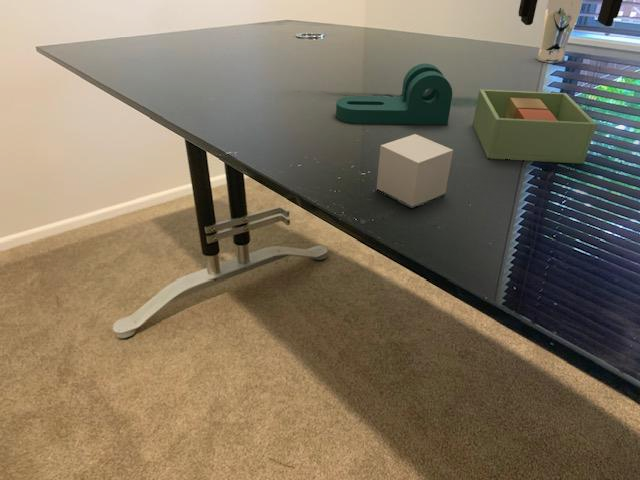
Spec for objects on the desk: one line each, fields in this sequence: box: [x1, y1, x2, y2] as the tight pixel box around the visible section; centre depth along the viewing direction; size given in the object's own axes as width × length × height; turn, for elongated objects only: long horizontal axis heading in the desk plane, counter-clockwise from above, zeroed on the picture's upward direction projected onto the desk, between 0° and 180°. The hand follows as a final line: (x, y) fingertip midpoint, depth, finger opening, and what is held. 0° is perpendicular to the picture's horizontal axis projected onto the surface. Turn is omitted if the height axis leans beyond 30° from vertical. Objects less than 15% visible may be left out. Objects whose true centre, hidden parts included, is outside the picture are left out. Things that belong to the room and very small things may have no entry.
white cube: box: [376, 133, 454, 206], centre depth 61 cm, size 6×6×6 cm
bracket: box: [335, 63, 453, 126], centre depth 82 cm, size 18×7×8 cm, turn 91°
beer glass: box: [535, 0, 584, 64], centre depth 113 cm, size 7×7×15 cm
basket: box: [472, 88, 598, 165], centre depth 74 cm, size 13×13×6 cm
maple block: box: [505, 98, 548, 119], centre depth 76 cm, size 4×4×4 cm
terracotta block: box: [515, 109, 558, 121], centre depth 72 cm, size 4×4×4 cm
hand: (564, 23), depth 64 cm, fingers open, 9 cm apart
